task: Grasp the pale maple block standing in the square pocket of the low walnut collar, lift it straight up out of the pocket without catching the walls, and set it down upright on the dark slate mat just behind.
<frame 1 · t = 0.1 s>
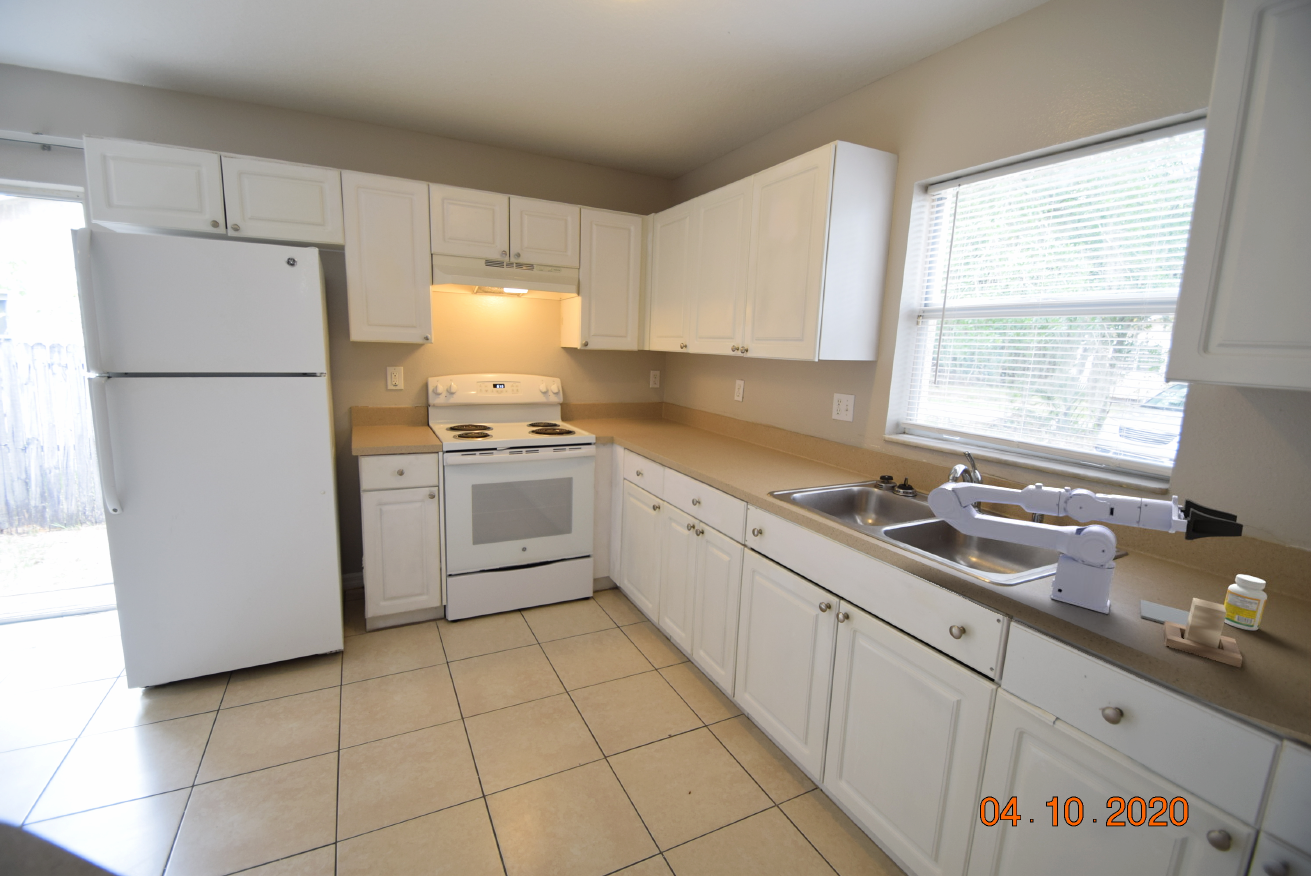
hand: (1239, 525, 102), 22 cm above the worktop, tool horizontal, fingers open, 7 cm apart
pocket block: (1199, 646, 102), on the worktop
maple part: (1204, 625, 101), in the pocket block
supplement bottle: (1238, 625, 112), on the worktop
slate mat: (1173, 617, 113), on the worktop
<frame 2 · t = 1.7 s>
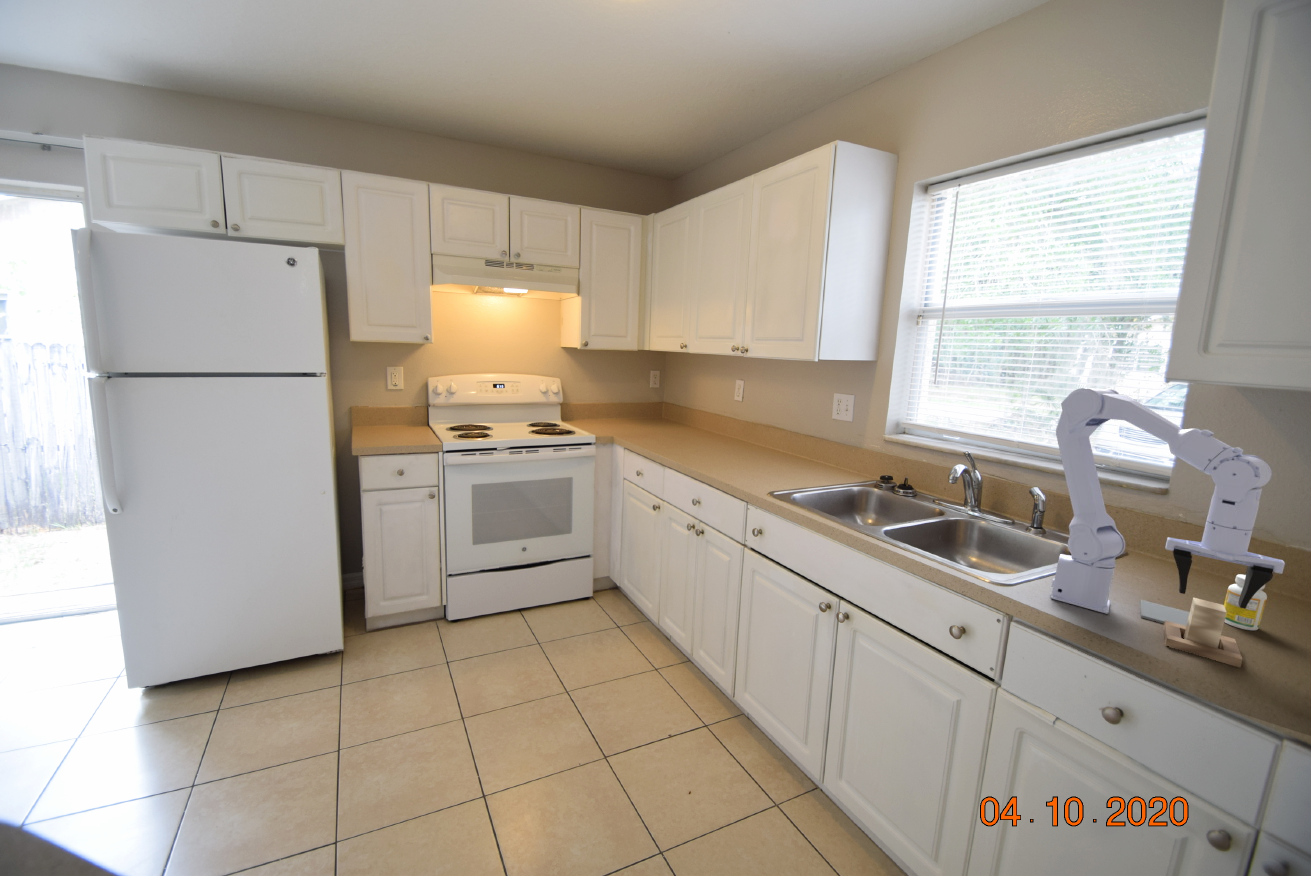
hand: (1211, 598, 101), 9 cm above the worktop, tool pointing down, fingers open, 7 cm apart
nothing on the worktop moved.
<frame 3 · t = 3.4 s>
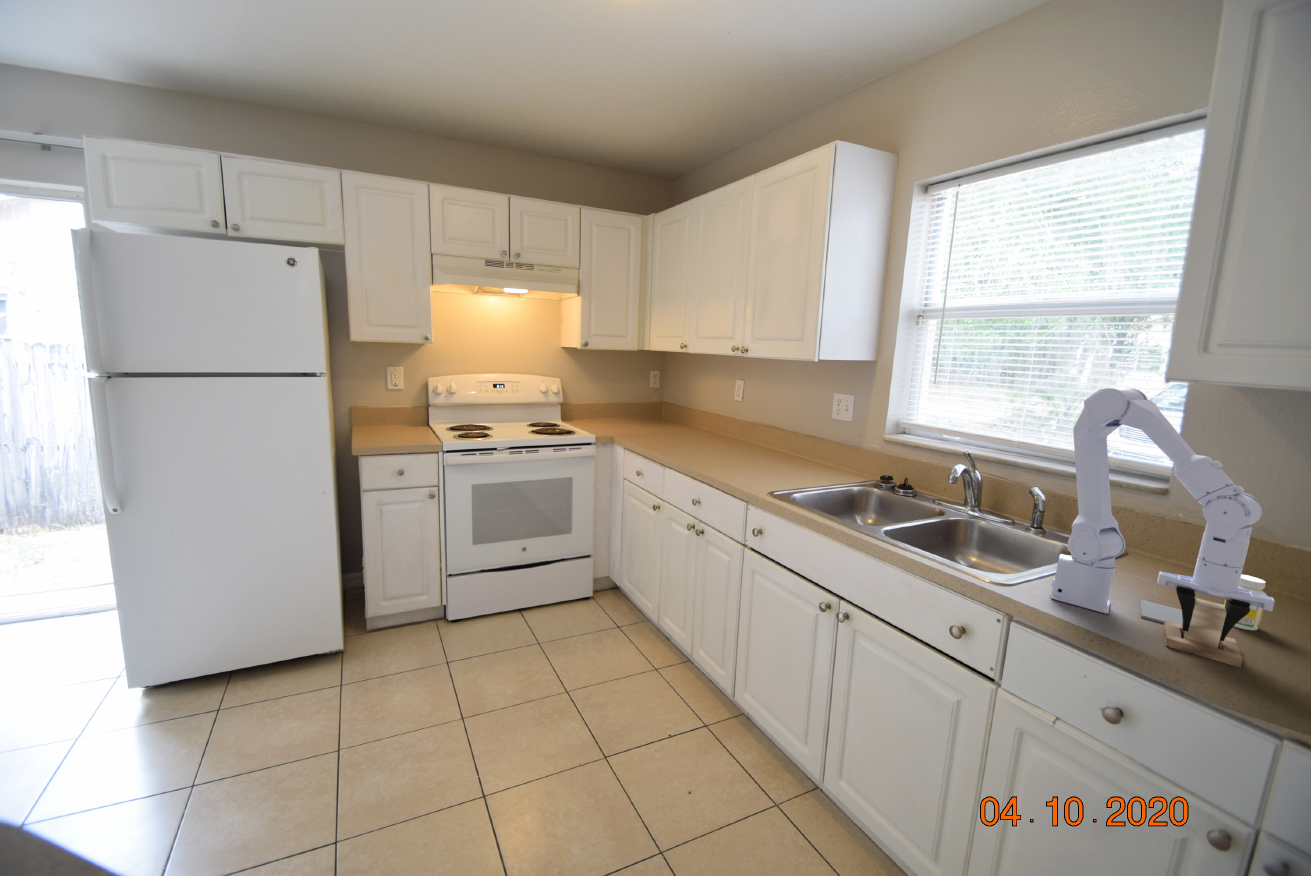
hand: (1202, 633, 102), 2 cm above the worktop, tool pointing down, fingers closed on maple part, 4 cm apart
maple part: (1204, 625, 101), in the pocket block, touching gripper
everything else where it was.
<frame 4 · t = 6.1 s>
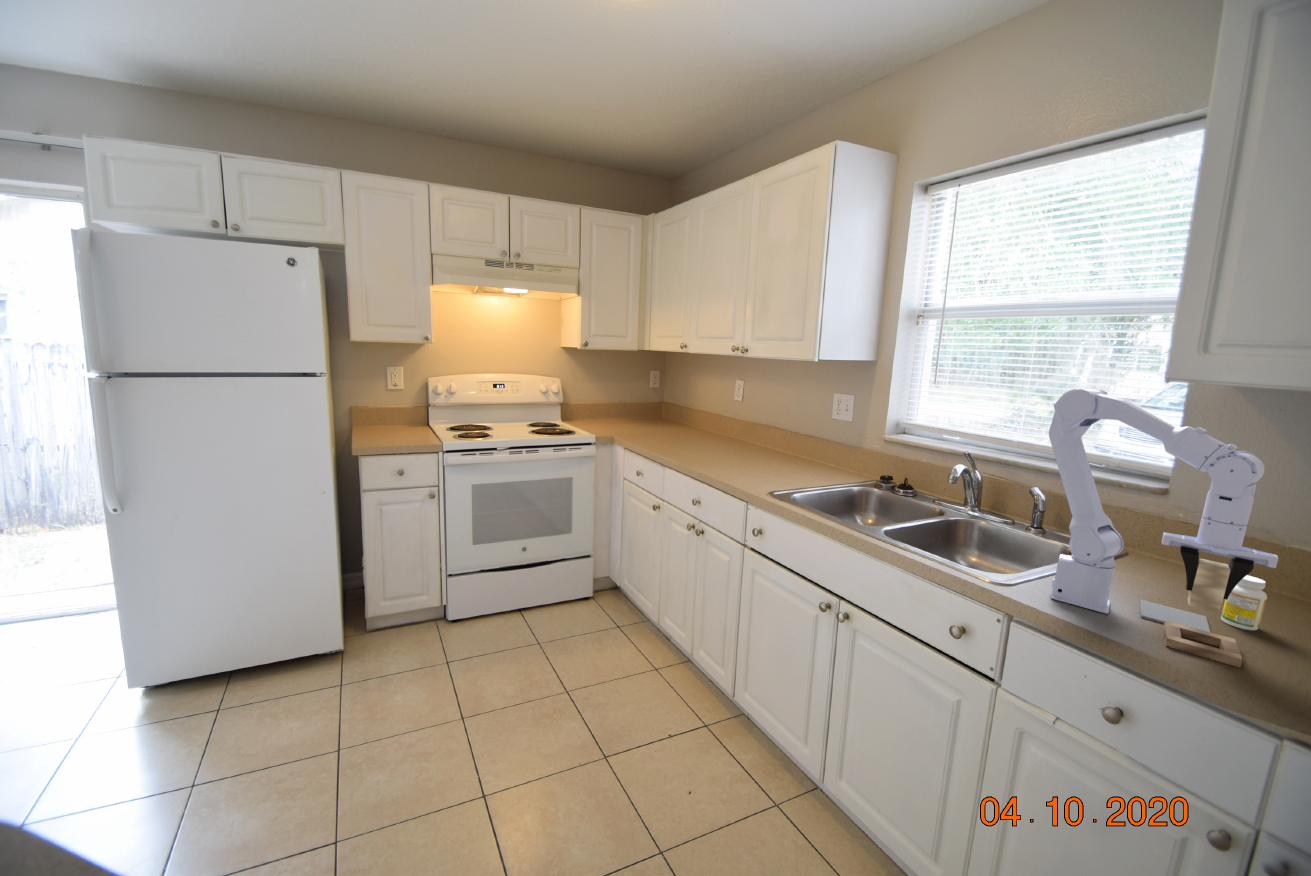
hand: (1206, 593, 102), 9 cm above the worktop, tool pointing down, fingers closed on maple part, 4 cm apart
maple part: (1208, 584, 102), point 11 cm above the worktop, touching gripper
everything else where it was.
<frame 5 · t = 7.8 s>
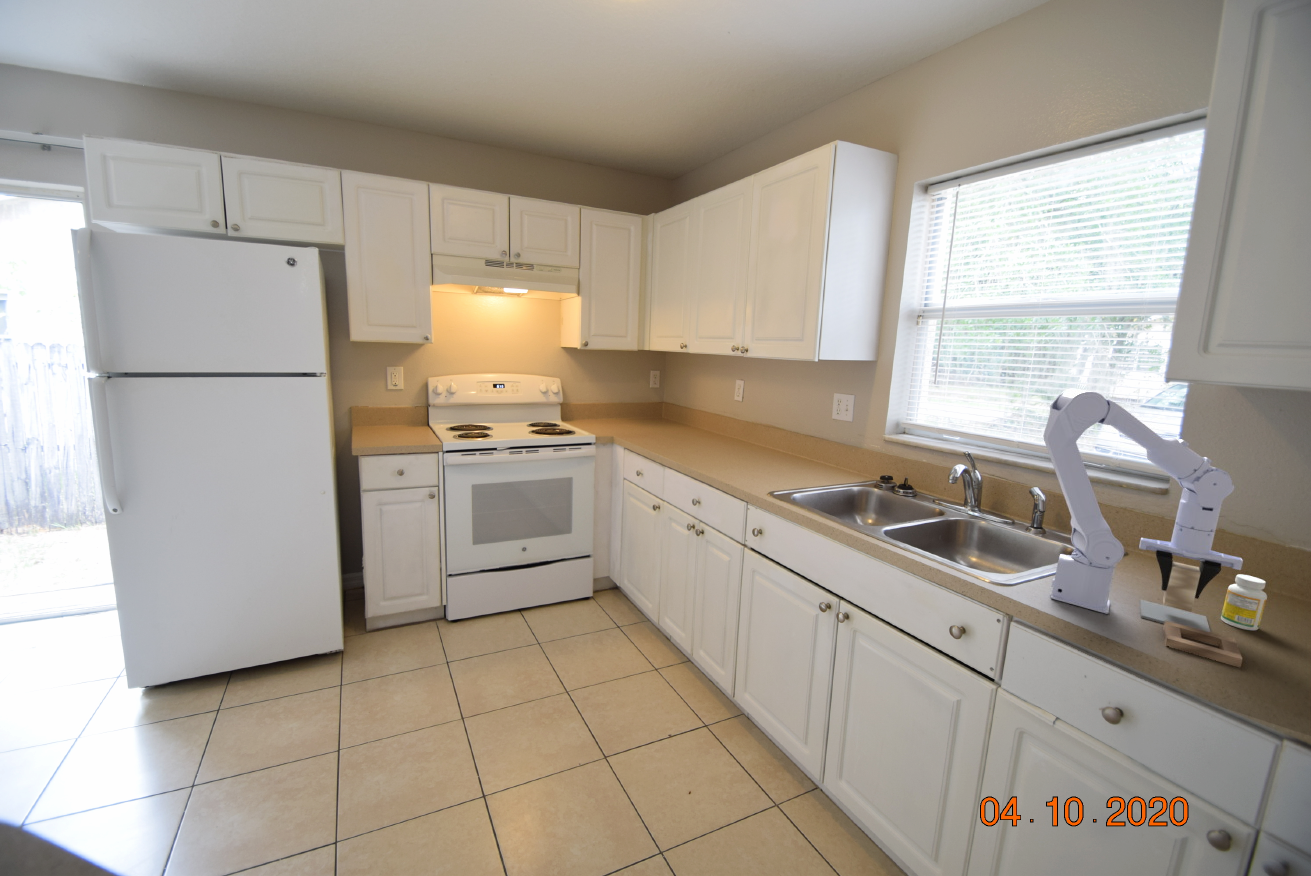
hand: (1179, 592, 112), 5 cm above the worktop, tool pointing down, fingers closed on maple part, 4 cm apart
maple part: (1181, 586, 112), point 7 cm above the worktop, touching gripper
everything else where it was.
when the fingers open (4 cm above the worktop, at t = 9.0 s): maple part stays where it is, resting on slate mat.
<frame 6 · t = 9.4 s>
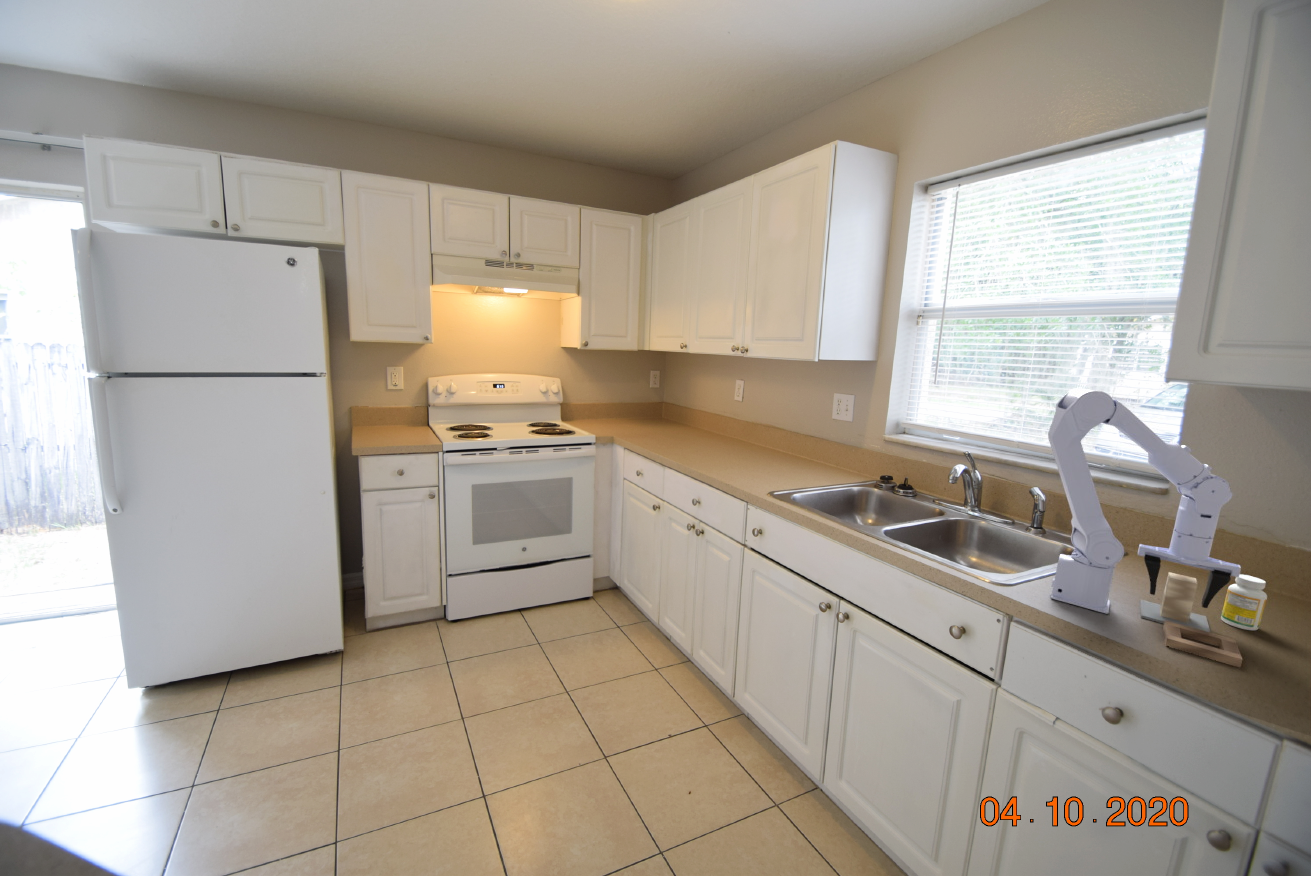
hand: (1177, 599, 112), 4 cm above the worktop, tool pointing down, fingers open, 7 cm apart
maple part: (1178, 597, 112), on the slate mat
everything else where it was.
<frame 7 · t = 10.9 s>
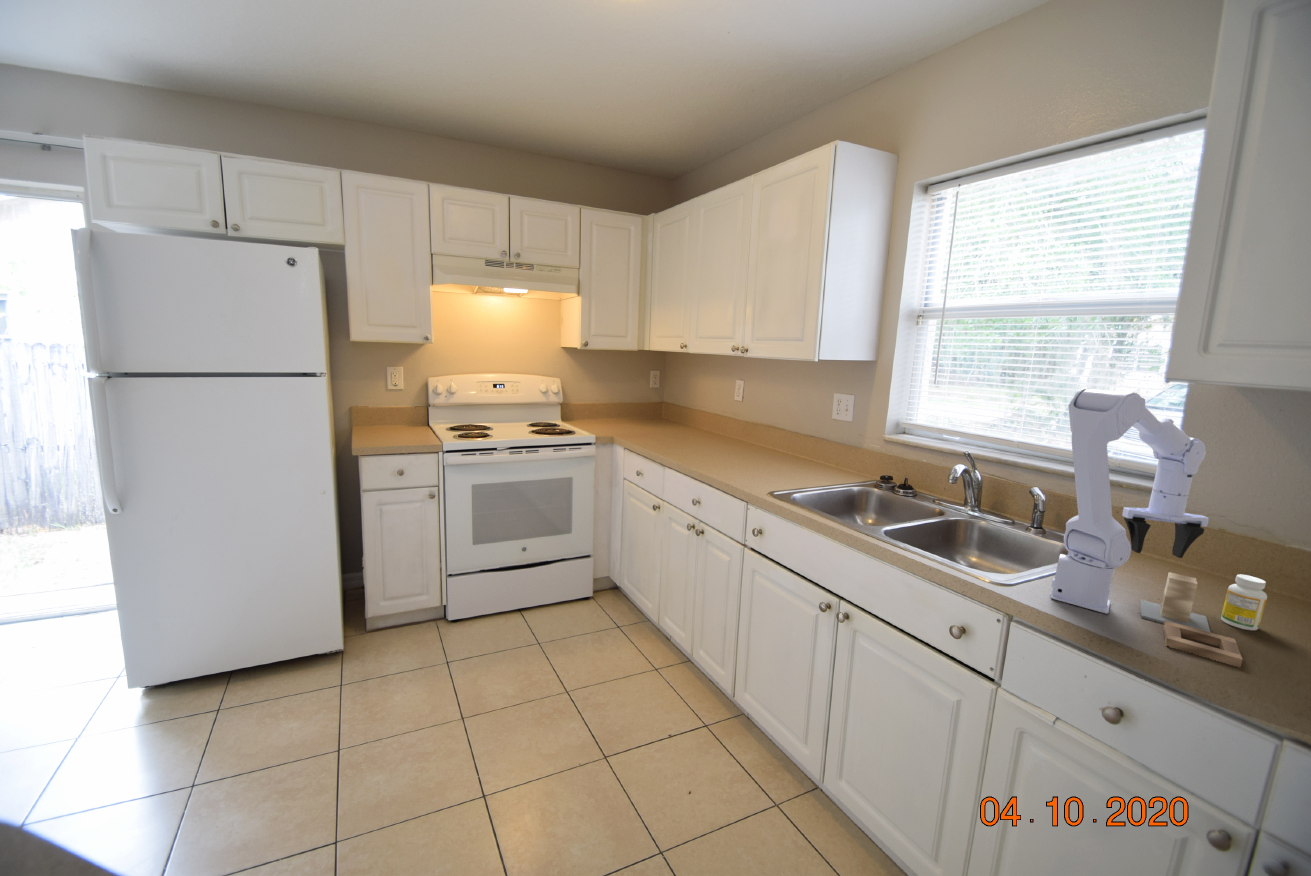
hand: (1156, 553, 122), 9 cm above the worktop, tool pointing down, fingers open, 7 cm apart
nothing on the worktop moved.
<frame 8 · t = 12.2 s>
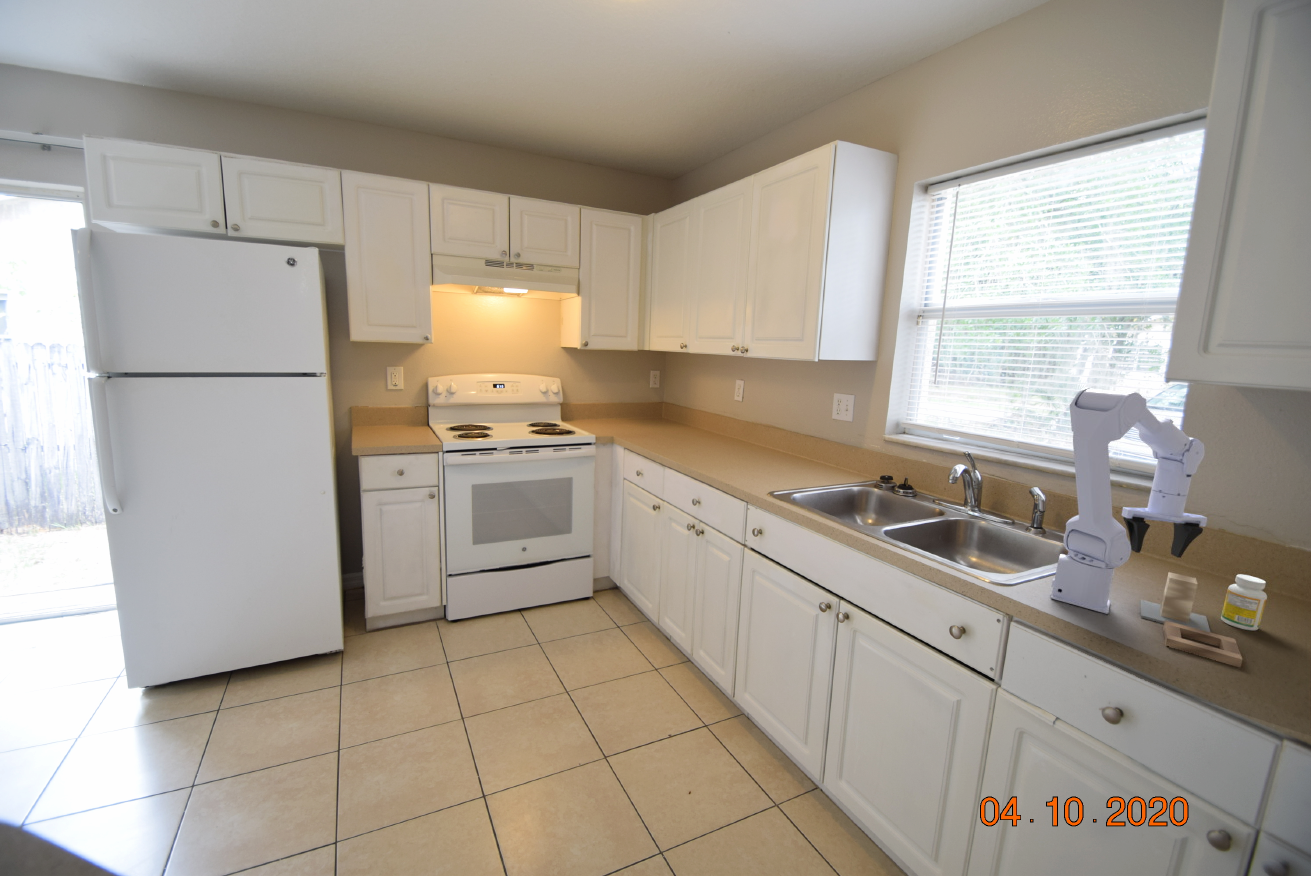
hand: (1155, 553, 122), 9 cm above the worktop, tool pointing down, fingers open, 7 cm apart
nothing on the worktop moved.
at the end: maple part 0.2 cm off-centre on the slate mat, point 4.5 cm above the slate mat's base; maple part tilted 0°; the gripper is holding nothing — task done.
